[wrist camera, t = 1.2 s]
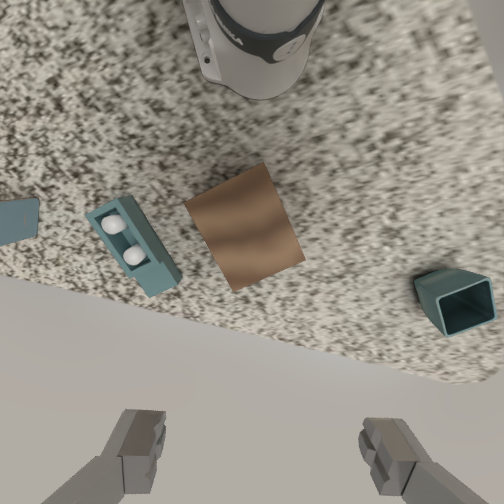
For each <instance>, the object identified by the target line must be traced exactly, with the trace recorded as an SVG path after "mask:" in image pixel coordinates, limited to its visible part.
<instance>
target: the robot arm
mask: <svg viewBox="0 0 504 504" xmlns="http://www.w3.org/2000/svg"><path fill="white" fill-rule="evenodd" d="M182 2H183V5H184V9H185V13H186V16H187V20H188V24H189V27H190V31H191V35H192V38H193V42H194V46H195V50H196V53H197V57H198V61H199V64H200V68H201V72H202V75H203V77H204V78H205V79H206V80H207V81H210V82H213V83H218V84H224V85H226V86H228V87H229V88H231V89H232V90H234V91H235V92H237V93H238V94H240V95H242V96H244V97H247V98H251V99H258V100H262V99H269V98H273V97H276V96H278V95H280V94H282V93H284V92H285V91H286V90H288V89H289V88H290V87H291V86H292V85H293V84H294V83H295V82H296V80H297V79H298V78H299V76H300V75H301V73H302V71H303V69H304V67H305V65H306V62H307V59H308V55H309V50H310V44H311V40H312V36H313V33H314V32H315V30H316V28H317V26H318V24H319V22H320V20H321V18H322V14H323V11H324V2H325V0H182ZM206 59H210V62H209V63H208V64H206V63H205V60H206ZM165 419H166V412H165V411H152V410H136V409H135V410H134V409H125V411H124V412H123V413H122V414H121V417H120V418H119V420H118V422H117V424H116V426H115V428H114V430H113V432H112V434H111V436H110V438H109V440H108V442H107V444H106V446H105V448H104V450H103V452H102V454H101V455H100V456H95V457H94V458H93V459H92V460H91V461H90V462H89V463H88V464H86V465H85V466H84V467H83V468H82V469H81V470H79V471H78V472H77V473H76V474H75V475H74V476H72V478H70V479H69V480H68V481H67V482H66V483H64V484H63V485H62V486H61V487H60V488H59V489H58V490H56V491H55V492H54V493H53V494H52V495H51V496H50V497H48V498H47V499H46V500H45V501H44V502H43V503H42V504H118V503H119V502H120V501H121V499H122V498H123V497H124V494H149V493H150V491H151V488H152V485H153V481H154V478H155V474H156V470H157V460H158V459H159V458H160V457H161V453H162V450H163V446H164V441H165V434H166V426H165V425H164V422H165ZM363 426H364V429H363V430H362V431H361V432H360V434H359V438H358V440H359V448H360V451H361V454H362V457H363V459H364V461H365V462H366V463H367V464H368V465H369V466H370V467H371V471H370V474H371V477H372V479H373V481H374V483H375V486H376V488H377V490H378V492H379V495H386V496H402V499H403V500H404V501H405V502H406V503H407V504H488V503H487V502H486V501H485V500H483V499H482V498H481V497H480V496H478V495H477V494H476V493H474V492H473V491H472V490H471V489H470V488H468V487H467V486H466V485H465V484H463V483H462V482H461V481H460V480H458V479H457V478H456V477H455V476H453V475H452V474H450V473H449V472H448V471H447V470H446V469H445V468H443V467H442V466H441V465H439V464H438V463H434V462H433V461H432V459H431V458H430V457H429V455H428V454H427V452H426V451H425V449H424V448H423V447H422V445H421V444H420V442H419V441H418V439H417V438H416V437H415V435H414V434H413V432H412V431H411V429H410V428H409V426H408V425H407V424H406V422H405V421H404V420H403V419H397V418H396V419H394V418H392V419H391V418H390V419H389V418H365V419H364V421H363Z"/></svg>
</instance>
